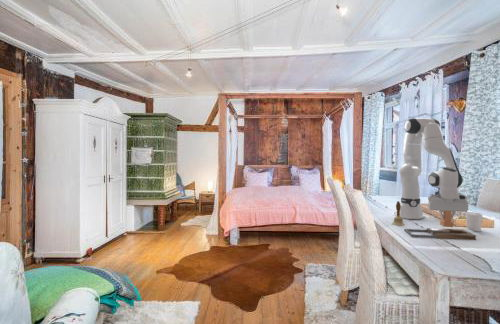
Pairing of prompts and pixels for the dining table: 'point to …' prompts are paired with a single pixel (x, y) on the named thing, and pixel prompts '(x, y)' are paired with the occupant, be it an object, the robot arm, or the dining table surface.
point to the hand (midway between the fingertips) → (446, 218)
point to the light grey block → (444, 231)
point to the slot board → (455, 234)
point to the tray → (418, 231)
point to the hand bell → (398, 216)
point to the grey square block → (434, 231)
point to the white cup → (474, 221)
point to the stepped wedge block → (446, 219)
